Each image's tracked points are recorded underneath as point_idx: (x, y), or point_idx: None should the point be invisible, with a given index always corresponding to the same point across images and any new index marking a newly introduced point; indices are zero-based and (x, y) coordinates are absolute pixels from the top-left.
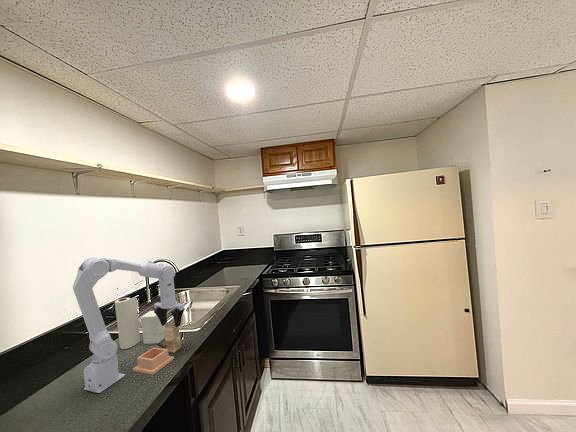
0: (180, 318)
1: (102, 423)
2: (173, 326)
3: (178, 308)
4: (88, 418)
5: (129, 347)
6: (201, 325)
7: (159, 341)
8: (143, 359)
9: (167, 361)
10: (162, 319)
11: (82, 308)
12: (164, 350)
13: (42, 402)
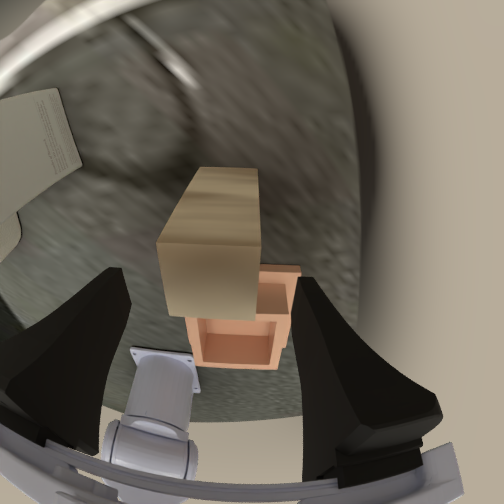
0: (336, 329)
1: (292, 414)
2: (236, 286)
3: (380, 483)
4: (254, 414)
5: (20, 233)
6: None
7: (77, 157)
8: (230, 366)
9: None
10: (107, 344)
11: None
12: (273, 320)
13: (118, 397)
